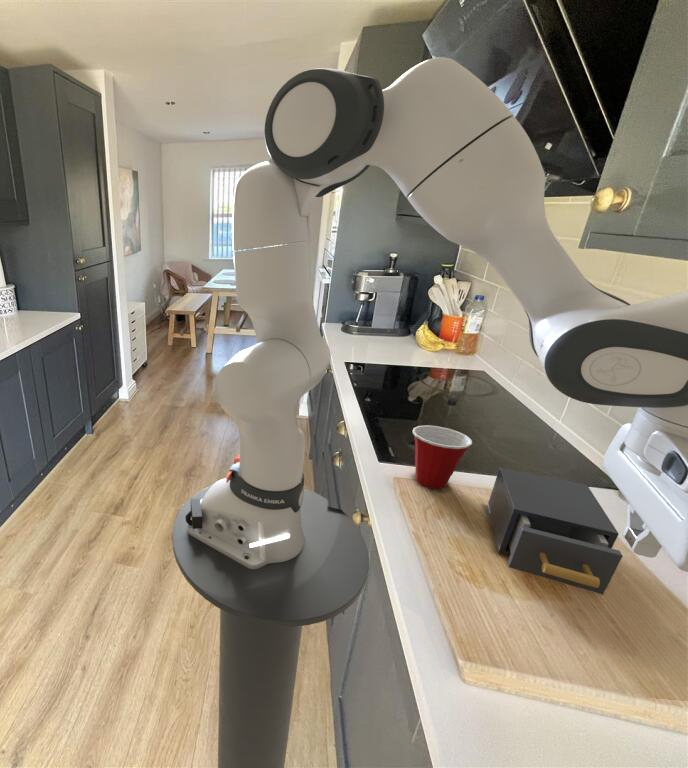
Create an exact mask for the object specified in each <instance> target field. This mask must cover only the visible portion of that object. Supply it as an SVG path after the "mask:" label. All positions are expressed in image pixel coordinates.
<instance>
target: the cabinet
mask: <svg viewBox="0 0 688 768" xmlns="http://www.w3.org/2000/svg"><path fill="white" fill-rule="evenodd" d="M486 509H487V514H488V517H489V521H490V526H491V528H492V529H491V530H492V532H493V536H494V540H495V544H496V548H497V552H498V553H499V554H501V555H504V556H508V557H510V555H511V553H510V549H509V546H508V542H509V539H510V537H511V534H512V531H513V528H514V526H515V523H516V520H517V517H518V515H519V514H521V515H525V516H529V517H533V518H537V519H541V520H545V521H550V522H554V523H558V524H562V525H566V526H570V527H574V528H579V529H583V530H587V531H591V532H595V533H599V534H603V535H604V537H605V539H606V540H607V542H608V546H607V548H611V549H613V546H614V545H615V543H616V541H617V539H618V536H619V531H617V529H616V527H615V526H614V523H613V522H612V521H611V519H610V518H609V516H608V515H607V513H606V512H605V510H604V509H603V507H602V506H601V504H600V502H599V501H598V500H597V498H596V496H595V495H594V493H593V492H592V490H591V489H590V487H589V486H588V484H583V483H579V482H574V481H569V480H564V479H559V478H555V477H549V476H544V475H540V474H536V473H535V474H534V473H530V472H525V471H519V470H515V469H510V468H504V467H499V469H498V471H497V475H496V478H495V480H494V483H493V486H492V490H491V493H490V496H489V500H488V502H487V505H486Z"/></svg>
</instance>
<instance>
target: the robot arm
mask: <svg viewBox="0 0 688 768" xmlns="http://www.w3.org/2000/svg"><path fill="white" fill-rule="evenodd" d="M264 142H265V147H266V150H267V152H268V155H269V157H270V159H268V160H267V161H264V162H263V161H262V162H260V163H257V164H255V165H253V166H251V167H249V168H248V169H246V170H245V171H244V172H243V173H242V174H241V175H240V176H239V178H238V179H237V182H236V184H235V188H234V194H233V202H232V219H231V220H232V221H231V228H232V229H231V233H232V234H231V235H232V236H231V239H232V240H231V241H232V251H233V252H232V258H233V268H234V270H233V271H234V281H235V282H234V283H235V293H236V301H237V304H238V306H239V308H241V310H243V312H245V313H246V314H247V315H248V317H249V319H250V321H251V323H252V326H253V330H254V334H255V340H256V342H255V344H254V345H252V346H250V347H248V348H245V349H243V350H241V351H239V352H238V353H235V355H234V356H233V357H231V359H229V360H228V361H227V362H226V363H225V364H224V365H223V367H221V369H220V370H219V371H218V372H217V375H216V378H215V383H214V389H215V391H214V392H215V395H216V399H217V401H218V404H219V405H220V407H221V409H222V410H223V411H224V412H225V413H226V415H228V416H229V417H230V418H231V419H232V420H234V421H235V422H236V427H237V429H238V434H239V453H238V454H237V455H236V457H235V458H234V459H233V464H232V465H231V466H230V467H229V471H228V473H227V475H226V477H224V478H221V479H218V480H217V481H216V482H214V483H213V484H212V485H210V486H211V487H210V486H209V487H210V488H209V489H208V491H207V492H206V494H205V495H204V497H203V498H202V499H201V500H200V498H199V499H191V511H190V512H189V513H188V514H187V515H186V522H187V531H188V533H189V534H190V535H191V536H193V537H195V538H196V539H198V540H200V541H202V542H203V543H205V544H207V545H209V546H210V547H212V548H214V549H216V550H217V551H219V552H221V553H223V554H224V555H226V556H228V557H230V558H231V559H233V560H235V561H237V562H238V563H240V564H242V565H244V566H245V567H247V568H249V569H258V568H260V567H262V566H264V565H266V564H270V563H279V562H284V561H288V560H290V559H292V558H294V557H296V556H297V555H298V554H299V553H300V552H301V551H302V549H303V547H304V543H305V537H304V533H303V529H302V524H301V512H300V507H301V505H302V503H303V496H304V488H305V474H304V472H303V471H304V463H305V454H306V443H307V440H306V435H305V434H304V431H303V430H302V429H301V428H300V427H299V426H298V419H297V410H298V405H299V403H300V401H301V399H302V398H303V396H305V395H306V394H307V393H308V392H310V391H311V390H312V389H313V388H315V387H316V386H318V385H319V384H320V382H321V381H322V380H323V378H324V376H325V375H326V374H327V371H328V369H329V367H330V364H331V361H332V360H331V359H332V355H331V349H330V346H329V344H328V342H327V341H326V339H325V338H324V337H323V336H322V333H321V330H320V327H319V326H320V325H319V323H318V318H317V314H316V309H315V306H314V300H313V292H312V290H313V289H312V269H311V267H312V266H311V234H310V232H311V230H310V213H311V208H312V204H313V201H314V199H315V198H322V197H324V196H326V195H328V194H329V193H331V192H333V191H335V190H337V189H339V188H341V187H343V186H345V185H347V184H349V183H351V182H353V181H354V180H356V179H357V178H359V177H360V176H361V175H363V174H364V173H365V172H366V171H367V170H368V169H369V168H370V166H374V167H378V168H380V169H381V170H383V171H384V172H385V173H386V174H387V175H388V176H389V177H390V178H391V179H392V180H393V182H394V183H395V184H396V185H397V187H398V188H399V190H400V192H402V194H403V195H404V196H405V198H406V199H407V201H408V203H410V205H411V206H412V208H413V209H414V210H415V211H416V212H417V214H418V215H419V216H420V217H421V218H422V219H423V220H424V221H425V222H426V223H427V224H428V225H429V226H430V227H432V228H433V229H434V230H435V231H436V232H437V233H438V234H440V235H441V236H442V237H444V238H445V239H446V240H448V241H449V242H451V243H454V244H456V245H459V246H461V247H463V248H466V249H468V250H469V251H471V252H473V253H475V254H477V255H478V256H480V257H481V258H482V259H484V261H486V262H487V264H489V266H491V267H492V268H493V270H495V272H496V273H497V274H498V276H499V277H500V278H501V280H502V282H504V284H505V286H507V288H508V289H509V290H510V292H511V294H513V296H514V297H515V299H516V300H517V301H518V302H519V304H520V305H521V306H522V308H523V309H524V312H525V314H526V316H527V318H528V333H529V342H530V346H531V349H532V351H533V352H534V354H535V355H536V357H537V358H538V360H539V362H540V365H541V366H542V367H541V368H542V369H543V371H544V373H545V375H546V378H547V379H548V381H549V382H550V384H552V387H554V388H555V389H556V390H557V391H558V392H560V393H561V394H563V395H565V396H567V398H570V399H572V400H575V401H578V402H581V403H584V404H590V405H597V406H598V405H599V406H610V407H611V406H612V407H626V408H638V409H637V411H636V413H635V415H634V418H633V420H632V422H628V423H627V422H626V423H624V424H623V425H622V426H621V427H620V428H619V429H618V431H617V432H616V434H615V436H614V437H613V438H612V441H611V443H609V446H608V448H607V450H606V451H605V454H604V456H603V459H602V468H603V470H604V472H605V473H606V474H607V476H608V477H609V478H610V479H611V481H612V482H613V483H614V485H615V486H616V488H617V489H618V490H619V491H620V493H621V494H622V495H623V497H624V498H625V499H626V501H627V502H628V503H629V504H628V505H627V508H626V509H627V512H626V514H627V515H626V527H625V529H624V531H623V533H622V536H623V538H624V539H625V540H626V542H627V543H628V545H629V547H630V548H631V550H632V551H633V553H634V554H635V555H638V556H643V557H646V558H651V559H652V558H656V557H657V556H658V553H659V552H660V551H661V548H662V549H663V550H664V551H665V553H666V554H667V556H668V557H669V558H670V559H671V561H672V562H673V563H674V565H675V566H676V567H677V568H678V569H679V570H681V571H682V572H685V573H688V290H685V291H682V292H679V293H675V294H672V295H668V296H664V297H660V298H657V299H653V300H649V301H643V302H639V303H634V304H631V303H630V302H628V301H626V300H624V299H622V298H620V297H619V296H616V295H614V294H612V293H610V292H607V291H604V290H602V289H600V288H598V287H596V286H595V285H593V283H591V282H590V281H589V280H588V279H587V278H586V277H585V276H584V274H583V273H582V271H581V270H580V269H579V267H577V264H576V263H575V262H574V261H573V260H572V258H571V257H570V255H569V254H568V253H567V251H566V250H565V249H564V247H563V246H562V245H561V243H560V241H559V240H558V239H557V237H556V236H555V234H554V233H553V231H552V229H551V226H550V225H549V222H548V219H547V215H546V209H545V191H546V173H545V171H544V168H543V165H542V162H541V160H540V157H539V154H538V153H537V151H536V148H535V146H534V144H533V143H532V139H531V138H530V137H529V135H528V133H527V132H526V130H525V128H524V127H523V126H522V125H521V123H520V122H519V121H518V119H517V117H516V116H514V114H513V112H512V111H511V110H510V109H509V108H508V106H507V105H506V104H505V103H504V101H503V100H501V98H499V96H498V95H497V94H496V93H495V92H494V91H493V90H492V89H491V88H490V87H489V86H488V85H487V84H485V83H484V82H483V80H481V79H480V78H479V77H478V76H476V75H475V74H473V72H472V71H470V70H469V69H467V68H466V67H464V66H463V65H461V64H460V63H458V62H457V61H456V60H454V59H452V58H451V57H445V56H444V57H443V56H441V57H440V56H438V57H433V58H429V59H426V60H424V61H422V62H420V63H418V64H416V65H414V66H413V67H411V68H410V69H408V70H407V71H406V72H404V73H403V74H402V75H401V76H399V77H398V78H396V80H394V82H393V83H392V84H390V85H389V86H388V87H386V88H384V89H382V86H381V83H380V81H379V80H378V78H375V77H374V76H368V75H363V74H357V73H353V72H348V71H346V70H341V69H336V68H330V67H329V68H328V67H319V68H310V69H307V70H304V71H302V72H299V73H297V74H296V75H294V76H292V77H290V78H289V80H287V81H286V82H285V83H284V84H283V85H282V86H281V88H280V89H279V90H278V91H277V92H276V94H275V95H274V97H273V99H272V101H271V103H270V105H269V106H268V109H267V113H266V117H265V121H264Z"/></svg>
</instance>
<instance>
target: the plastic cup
mask: <svg viewBox="0 0 688 768" xmlns="http://www.w3.org/2000/svg"><path fill="white" fill-rule="evenodd" d="M412 434H413V437H414V446H415V447H414V449H415V451H414V455H415V456H414V465H415V472H414V473H415V479H416V481H417V482H418V483H419V484H420V485H422V486H424V487H426V488H430V489H433V490H434V489H437V490H440V489H443V488H445V487H446V485H447V484H448V482H449V481H450V480H451V479H450V478H451V476H453V474H454V472H455V470H456V468H457V466H458V465H459V463H460V461H461V459H462V458H463V456H464V454H465V452H466V451H467V450H468V449H469V447H471V446H472V445H473V440H472V439H471V438H470V437H469V436H468V435H466V434H464V433H462V432H460V431H457V430H454V429H452V428H447V427H442V426H438V425H429V424H427V425H426V424H425V425H418V426H416V427H413V429H412Z"/></svg>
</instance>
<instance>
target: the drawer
mask: <svg viewBox="0 0 688 768" xmlns="http://www.w3.org/2000/svg"><path fill="white" fill-rule="evenodd" d="M508 546H509V549H510V553H511V555H510V556H508V557H509V558H508V560H507V565H508V568H510V569H513V570H517V571H520V572H523V573H527V574H530V575H533V576H537V577H541V578H544V579H547V580H551V581H555V582H558V583H561V584H564V585H568V586H571V587H575V588H578V589H581V590H585V591H588V592H592V593H595V594H599V595H602V596H603V595H604V594H605V592H606V590H607V588H608V586H609V584H610V582H611V580H612V578H613V577H614V574H615V572H616V570H617V568H618V566H619V564H620V563H621V561H622V559H623V557H624V556H623V554H622V552H621V550H618V549H615V548H612V549H611V548H607V546H608V542H607V540H606V539H605V537H604V535H603V534H599V533H595V532H591V531H587V530H583V529H579V528H574V527H570V526H566V525H562V524H558V523H554V522H550V521H545V520H541V519H537V518H533V517H529V516H525V515H521V514H519V515H518V517H517V520H516V523H515V526H514V528H513V531H512V534H511V537H510V539H509V542H508Z"/></svg>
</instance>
